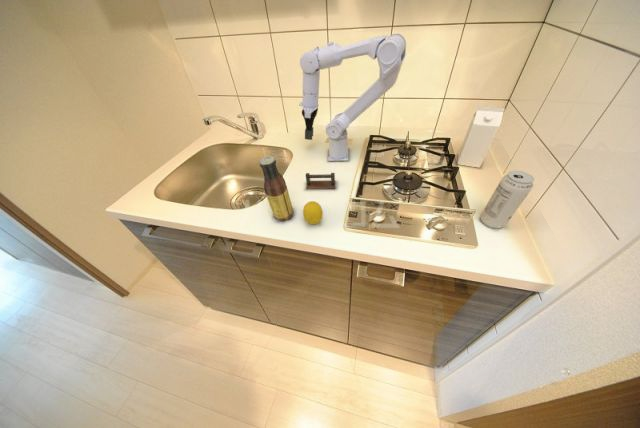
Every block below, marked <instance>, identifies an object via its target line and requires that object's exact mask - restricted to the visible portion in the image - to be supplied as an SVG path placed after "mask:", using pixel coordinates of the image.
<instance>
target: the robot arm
mask: <svg viewBox="0 0 640 428" xmlns="http://www.w3.org/2000/svg"><path fill="white" fill-rule="evenodd" d="M406 51H407V42H406V39H405V37H404V36H403V34H401V33H392V34H391V35H388V34H384V35H378V36H372V37H370V38H369V37H368V38H366V39H363V40H360V41H357V42H354V43H350V44H347V45H344V46H342V45H340V44H339V43H337V42H335V43H334V41H330V42H328V43H327V45H325V46H321V47H319V46H315V47H314V48H313V49H310V50H308V51H306V52H304V53H302V55H300V59H299V66H300V68H301V70H302V101H300V102H299V104H298V106H299V107H302V109H301V115H302V117H303V120H304V123H305V129H312V127H313V126H314V123H315V122H314V121H315V119H316V117H317V114H318V111H319V93H320V78H321V77H320V75H321V70H327V69H330V68H335V67H339V66H341V65H342V63H343V61H344V60H348V59H352V58H357V57H363V56H368V57H369V58H371V59H372V60H376V59H377V63H378V67H379V77H378V78H377V79H376V80H375V81H374V82H373V83H372V84H371V85H370V86H369V87H368V88H367V89H366V90H365V91H364V92H363V93H362V94H361V95H360V96H359V97H357V99H355V101H353V102H352V104H351V105H349V106H348V108H346V109H345V110H344V111H343V112H340V113H337V114H336V115H335V116H334V118H333V119H332V120H331V121H330V122H329V123H327V125H326V126H325V134H326V135H327V137H328V149H329V151H328V157H327V160H328V162H347V161H349V148H348V131H347V129H348V128H349V126H350V125H351V124H352V123H353V122H354V121H355V120H356V119H357V118H359V117H360V116H361V115H362V114H363V113H364V112H366V110H368V109H369V108H370V107H371V106H372V105H374V104H375V103H376V102H377V101H379V99H380V98H381V97H383V95H385V94H386V93H387V92H389V90H391V89H392V88H393V87H394V85H395V84H396V82H397V81H398V77H399V74H400V71H401V69H402V66H403V63H404V60H405V58H406V56H407V55H406V54H407V52H406ZM313 128H314V127H313Z"/></svg>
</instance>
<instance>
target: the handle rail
mask: <svg viewBox="0 0 640 428" xmlns="http://www.w3.org/2000/svg"><path fill="white" fill-rule="evenodd" d="M335 173H336V172H331V173H330V174H328V173H327V174H325V173H324V174H310V173H309V172H305V181H306V188H305V189H306V190H336V177H335V175H336V174H335ZM311 179H330V180H311Z"/></svg>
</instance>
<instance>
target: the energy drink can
mask: <svg viewBox="0 0 640 428" xmlns="http://www.w3.org/2000/svg"><path fill="white" fill-rule="evenodd" d="M534 181H535V177H534V176H533V175H532V174H530V173H529V172H526V171H524V170H510V171H509V172H508V173H507V174H505V175H503V176H502V178H501V179H500V180H499V183H498V184H497V186H496V188H495V189H494V191H493V193H492V194H491V197H490V199H489V200H488V202H487V204H486V205H485V206H484V208H483V211H482V212H481V214H480V220H481V223H482V224H483V225H484V226H486V227H488V228H490V229H496V230H497V229H501V228H504V227H506V226H507V224H508V223H509V221H511V219H512V218H513V216H514V215H515V214H516V212H517V210H518V209H519V207H520V206H521V205H522V204H523V202H524V201H525V200H526V198H527V196H528V195H529V193H530V192H531V191H532V189H533V188H534Z"/></svg>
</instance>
